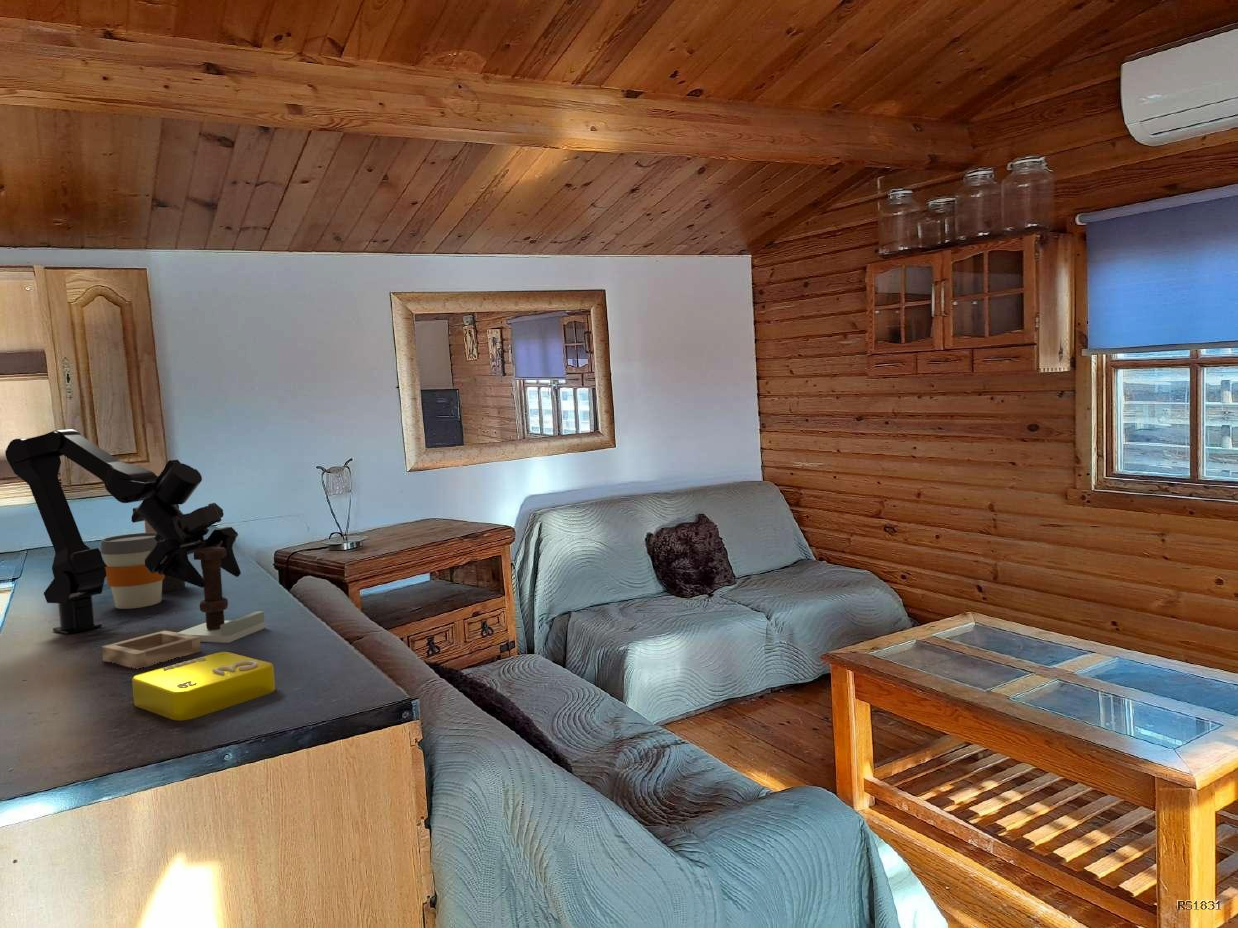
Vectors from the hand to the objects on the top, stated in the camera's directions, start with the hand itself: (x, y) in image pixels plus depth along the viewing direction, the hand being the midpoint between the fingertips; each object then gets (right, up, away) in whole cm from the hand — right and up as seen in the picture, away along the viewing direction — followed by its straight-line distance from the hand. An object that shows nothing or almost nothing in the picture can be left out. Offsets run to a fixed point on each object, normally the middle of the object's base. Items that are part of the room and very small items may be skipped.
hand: (222, 580), depth 162 cm
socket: (-7, -12, -12) cm, 18 cm away
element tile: (+13, -13, -34) cm, 39 cm away
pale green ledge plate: (-1, -10, +1) cm, 10 cm away
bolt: (-2, -9, +1) cm, 9 cm away
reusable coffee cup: (-33, -10, +31) cm, 46 cm away
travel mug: (-34, -8, +46) cm, 58 cm away
